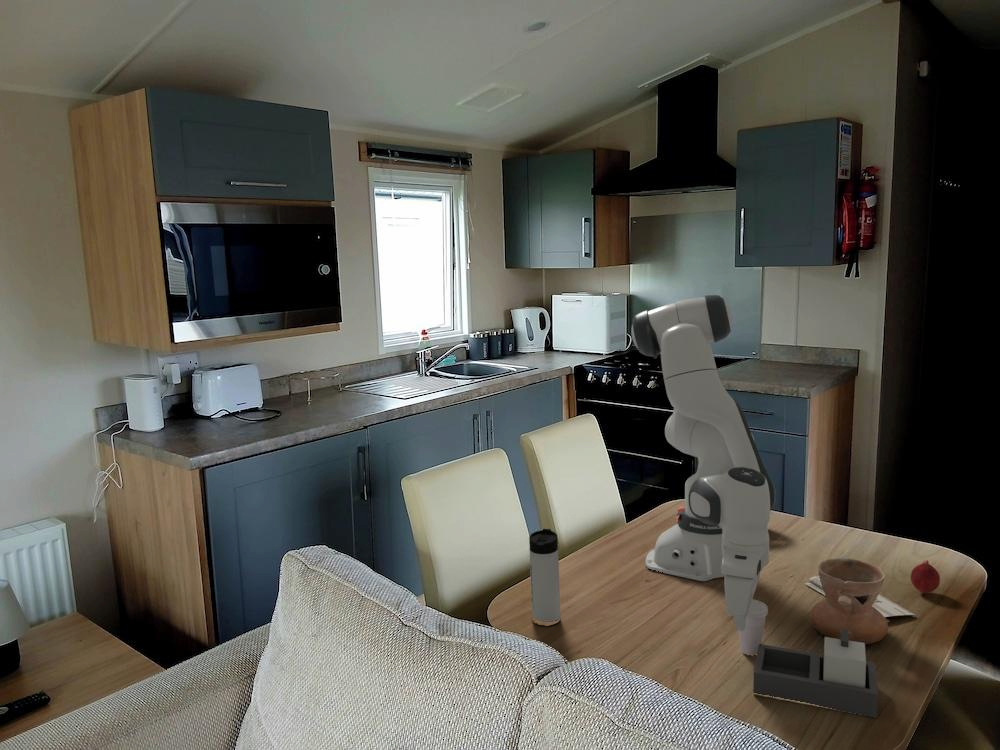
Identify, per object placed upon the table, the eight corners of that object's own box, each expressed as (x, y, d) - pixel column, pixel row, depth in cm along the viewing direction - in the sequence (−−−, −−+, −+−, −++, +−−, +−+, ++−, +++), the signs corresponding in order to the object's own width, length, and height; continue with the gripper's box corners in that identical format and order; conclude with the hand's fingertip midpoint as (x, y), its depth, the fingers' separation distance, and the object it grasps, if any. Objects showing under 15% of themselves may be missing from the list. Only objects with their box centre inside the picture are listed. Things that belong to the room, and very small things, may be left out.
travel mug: (563, 614, 169) (561, 529, 166) (556, 628, 163) (553, 540, 160) (537, 611, 171) (533, 527, 168) (528, 625, 165) (525, 538, 162)
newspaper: (801, 586, 179) (803, 575, 178) (845, 583, 182) (847, 573, 182) (870, 630, 157) (871, 619, 157) (918, 627, 160) (920, 615, 160)
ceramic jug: (882, 662, 144) (886, 593, 142) (802, 643, 152) (805, 577, 150) (891, 623, 159) (895, 560, 157) (818, 608, 167) (821, 547, 165)
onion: (943, 600, 168) (944, 566, 166) (914, 598, 169) (916, 565, 167) (933, 588, 173) (935, 555, 172) (906, 587, 174) (908, 554, 173)
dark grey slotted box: (753, 695, 136) (754, 643, 134) (761, 649, 151) (762, 603, 149) (876, 718, 128) (879, 664, 126) (872, 668, 143) (874, 619, 141)
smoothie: (728, 644, 153) (729, 579, 151) (759, 641, 154) (760, 577, 152) (741, 661, 147) (742, 594, 145) (772, 658, 148) (774, 591, 145)
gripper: (736, 531, 158) (735, 593, 160) (719, 569, 139) (718, 638, 142) (768, 535, 155) (766, 598, 157) (755, 574, 137) (753, 645, 139)
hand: (743, 618), depth 149 cm, fingers open, 8 cm apart
